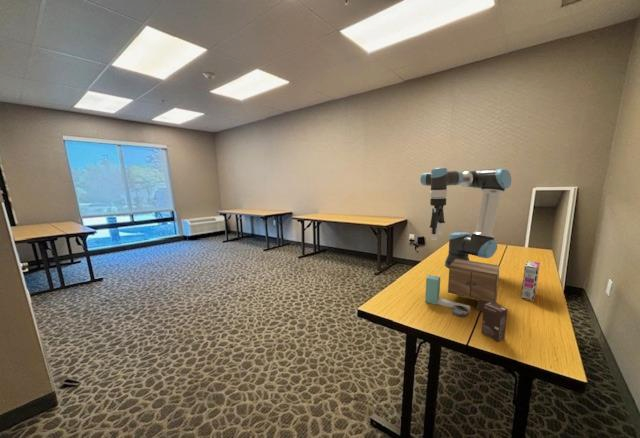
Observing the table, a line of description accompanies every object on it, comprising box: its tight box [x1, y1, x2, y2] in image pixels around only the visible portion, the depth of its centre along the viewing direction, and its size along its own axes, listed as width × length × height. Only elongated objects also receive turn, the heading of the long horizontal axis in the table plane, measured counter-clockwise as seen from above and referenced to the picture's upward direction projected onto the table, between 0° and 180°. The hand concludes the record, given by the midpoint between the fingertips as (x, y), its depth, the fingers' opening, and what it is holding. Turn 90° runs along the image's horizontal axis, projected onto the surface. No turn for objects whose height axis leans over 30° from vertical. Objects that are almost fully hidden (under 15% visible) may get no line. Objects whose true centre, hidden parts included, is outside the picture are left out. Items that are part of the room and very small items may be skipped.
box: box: [481, 302, 509, 343], centre depth 88 cm, size 6×4×12 cm
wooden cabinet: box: [447, 259, 500, 313], centre depth 113 cm, size 15×18×18 cm
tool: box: [424, 274, 471, 313], centre depth 112 cm, size 5×18×12 cm, turn 52°
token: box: [451, 306, 469, 318], centre depth 105 cm, size 6×6×2 cm
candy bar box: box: [520, 260, 541, 302], centre depth 119 cm, size 11×5×16 cm, turn 135°
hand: (437, 237), depth 130 cm, fingers open, 13 cm apart
